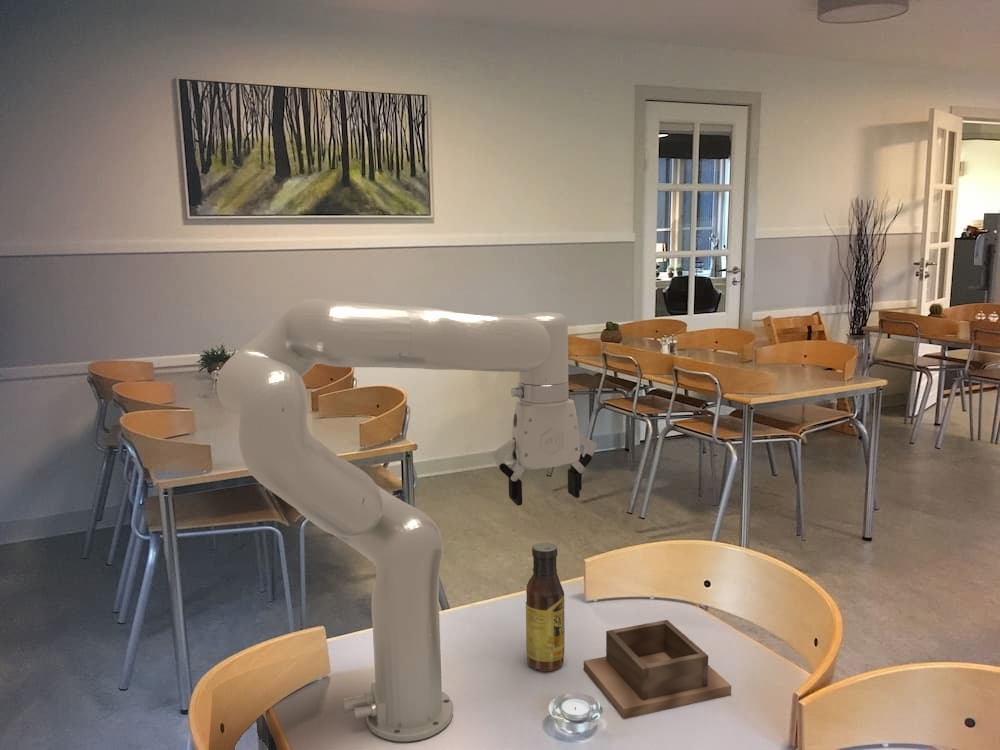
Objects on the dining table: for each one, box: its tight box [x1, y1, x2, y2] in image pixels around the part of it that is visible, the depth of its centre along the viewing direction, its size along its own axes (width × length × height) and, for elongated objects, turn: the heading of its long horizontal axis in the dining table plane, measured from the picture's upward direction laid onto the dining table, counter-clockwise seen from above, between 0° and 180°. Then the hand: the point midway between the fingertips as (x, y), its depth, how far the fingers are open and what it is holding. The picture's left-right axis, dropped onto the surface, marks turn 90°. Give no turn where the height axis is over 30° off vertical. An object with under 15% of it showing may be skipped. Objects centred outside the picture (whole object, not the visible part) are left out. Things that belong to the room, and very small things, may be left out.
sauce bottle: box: [525, 542, 565, 672], centre depth 126 cm, size 7×6×20 cm
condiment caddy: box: [583, 619, 732, 719], centre depth 121 cm, size 18×14×6 cm
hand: (545, 499), depth 123 cm, fingers open, 9 cm apart
